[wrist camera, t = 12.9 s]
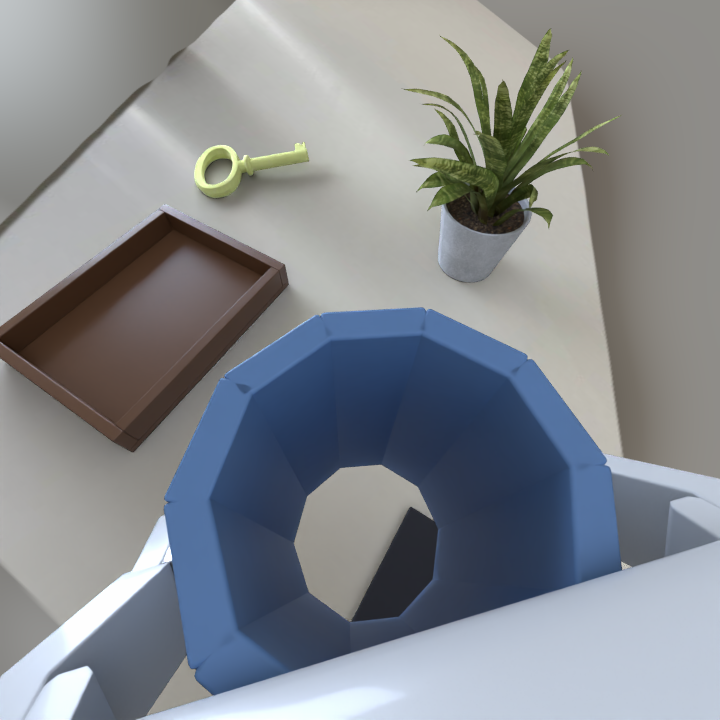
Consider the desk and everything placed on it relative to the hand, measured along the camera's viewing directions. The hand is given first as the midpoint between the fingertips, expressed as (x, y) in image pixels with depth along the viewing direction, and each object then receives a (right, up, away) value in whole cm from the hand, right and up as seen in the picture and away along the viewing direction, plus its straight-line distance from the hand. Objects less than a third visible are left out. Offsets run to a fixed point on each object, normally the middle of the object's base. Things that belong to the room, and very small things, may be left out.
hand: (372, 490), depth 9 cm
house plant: (+9, +13, +27) cm, 31 cm away
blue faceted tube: (0, -3, +4) cm, 5 cm away
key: (-12, +23, +31) cm, 41 cm away
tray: (-17, +6, +22) cm, 28 cm away
